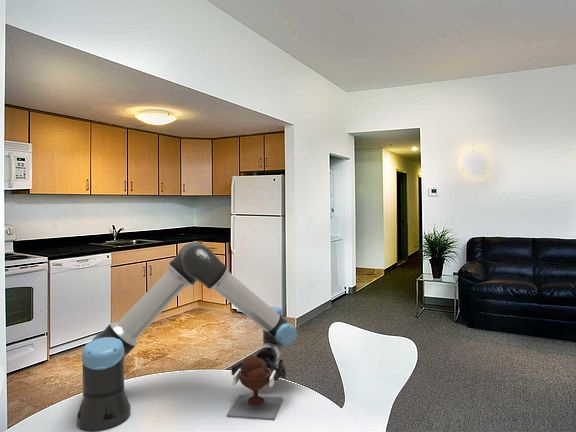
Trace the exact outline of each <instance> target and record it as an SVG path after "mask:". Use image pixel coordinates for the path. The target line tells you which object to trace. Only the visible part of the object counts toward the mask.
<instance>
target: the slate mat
mask: <svg viewBox="0 0 576 432" xmlns="http://www.w3.org/2000/svg"><path fill="white" fill-rule="evenodd" d="M252 396H253V395H249V394H239V395H238V397H237V398H236V400H235V402H234V403H233V404H232V406H231V408H230V410H228V413H227V414H226V418H237V419H238V418H239V419H248V420H249V419H250V420H251V419H253V420H263V421H264V420H266V421H275V419H276V417H277V414H278V412H279V409H280V407H281V404H282V402H283V400H284V398H283V397H282V396H267V395H266V396H265V395H259V396H260V397H262V398H264V403H262V404H261V405H250V404H248V399H249V398H250V397H252Z"/></svg>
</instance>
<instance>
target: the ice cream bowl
mask: <svg viewBox="0 0 576 432" xmlns="http://www.w3.org/2000/svg"><path fill="white" fill-rule="evenodd" d="M242 361H243V362H242ZM242 361H241V362H242V367H243V369H242V370H240V371H239V382H240V383H241V385H243V386H244V387H245V388H247V389H248V390H251V391H252V394H253V395H251V396H252V397H250V398H249V399H248V404H250V405H261V404H262V403H264V398H262V397H260V396H261V395H259V391H260V390H262V389H263V388H265V387H266V386H268V384H270V379H269V378H270V377H271V375H272V370H271V369H269V368H267V363H266V362H265V361H263V360H262V359H260V358H258V357H257V356H256V355H248V356H246V357H245V358H244V359H243V360H242Z"/></svg>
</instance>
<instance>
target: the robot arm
mask: <svg viewBox="0 0 576 432" xmlns="http://www.w3.org/2000/svg"><path fill="white" fill-rule="evenodd" d="M197 282H199V283H200V284H202V285H203V286H205V287H206V288H207V289H208V290H212V289H213V290H214V291H216V292H217V293H218V294H219V295H221V297H223V298H225V300H226V301H228V302H230V304H231V305H233V306H234V307H236V308H237V309H238V310H239V311H240V312H242V314H243V315H245V316H247V317H248V318H249V319H250V320H252V321H253V322H254V323H255V324H256V325H257V326H259V327H260V328H261V329H262V346H261V348H260V349H259V351H258V352H257V354H256V355H255V356H257V357H258V358H260V359H262V360H263V361H265V362H266V363H267V368H269V369H271V370H272V375H271V377H270V378H269V379H270V382H269V388H272V387H273V386H274V384H275V382H278V380H280V378H283V379H286V377H287V376H286V374H287V373H286V368H285V365H284V360H283V359H279V358H280V356H281V354H282V353H283V351H284V349H285V346H290V345H292V344H294V342H295V341H296V339H297V336H298V335H297V334H298V333H297V332H298V331H297V329H296V327H295V326H294V325H293V324H292V323H290V322H289V321H288V320H287V319H285V318H284V317H283V313H282V311H283V310H282V308H281V307H277V306H276V307H275V306H270V304H267V303H266V302H265V301H264V300H262V299H261V297H259V296H258V295H257V294H255V293H254V292H253V291H252V290H251V289H250V288H248V287H247V286H246V285H245V284H244V283H242V282H241V281H240V280H239V279H238V278H237V277H236V276H234V275H233V274H232V273H231V272H229V268H228V266H227V265H226V264H224V262H222V260H220V259H219V257H218V256H217V255H216V254H215V253H214V252H213V251H212V249H211V248H209V247H208V246H206V245H204V243H203V244H202V243H200V242H190V243H187V244H184V246H182V247H181V248H180V250H179V251H178V253H177V254H176V256H174V258H173V259H172V260H171V261H170V262H169V263H168V269H167V270H166V272H165V273H164V274H163V275H162V276H161V277H160V278H159V279H158V280H157V281H156V282H155V284H153V286H151V287H150V289H149V290H148V291H146V292H145V294H144V295H143V296H142V297H141V298H140V299H139V300H138V301H137V302H136V303H135V304H134V305H133V306H132V307H131V308H130V309H129V310H128V311H127V312H126V313H125V314H124V315H123V316H122V317H121V318H120V319H119V321H114V322H110V323H109V324H108V325H107V326H106V328H104V329H103V330H102V331H100V332H99V333H98V334H96V335H95V336H94V337H93V339H91V341H89V342H87V343H86V344H85V345H84V347H83V348H82V352H81V353H82V354H81V361H82V362H81V363H82V399H81V403H80V406H79V409H78V412H77V416H76V425H78V426H77V428H79V427H80V428H81V430H82V429H83V430H82V431H89V432H90V431H91V432H95V431H97V432H98V431H103V430H109V429H111V428H113V427H116V426H119V425H120V424H123V423H124V422H125V421H127V420H128V419H129V418H130V417H131V414H132V412H131V410H132V409H131V403H130V401H129V398H128V395H127V394H126V390H125V358H126V357H127V355H129V354H130V353H131V351H132V350H133V349H134V348H135V347H136V346H137V344H138V342H137V341H138V338H139V337H140V336H141V335H142V334H143V332H145V330H146V329H147V328H148V327H149V326H150V325H151V324H152V323H153V322H154V321H155V320H156V319H157V317H158V316H159V315H160V314H162V312H163V311H164V310H165V309H166V308H167V307H168V306H169V305H170V304H171V303H172V302H173V301H174V299H176V297H177V296H178V295H180V294H181V292H182V291H183V290H184V289H185V288H186V287H190V286H191V287H192V286H194V284H196V283H197ZM242 362H243V360H242V361H240V362H238V363H236V364H235V365H233V366H231V375H232V385H233V386H236V385H237V383H238V382H240V379H239V371H240V370H242V369H243V367H242ZM80 428H79V429H80Z"/></svg>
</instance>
